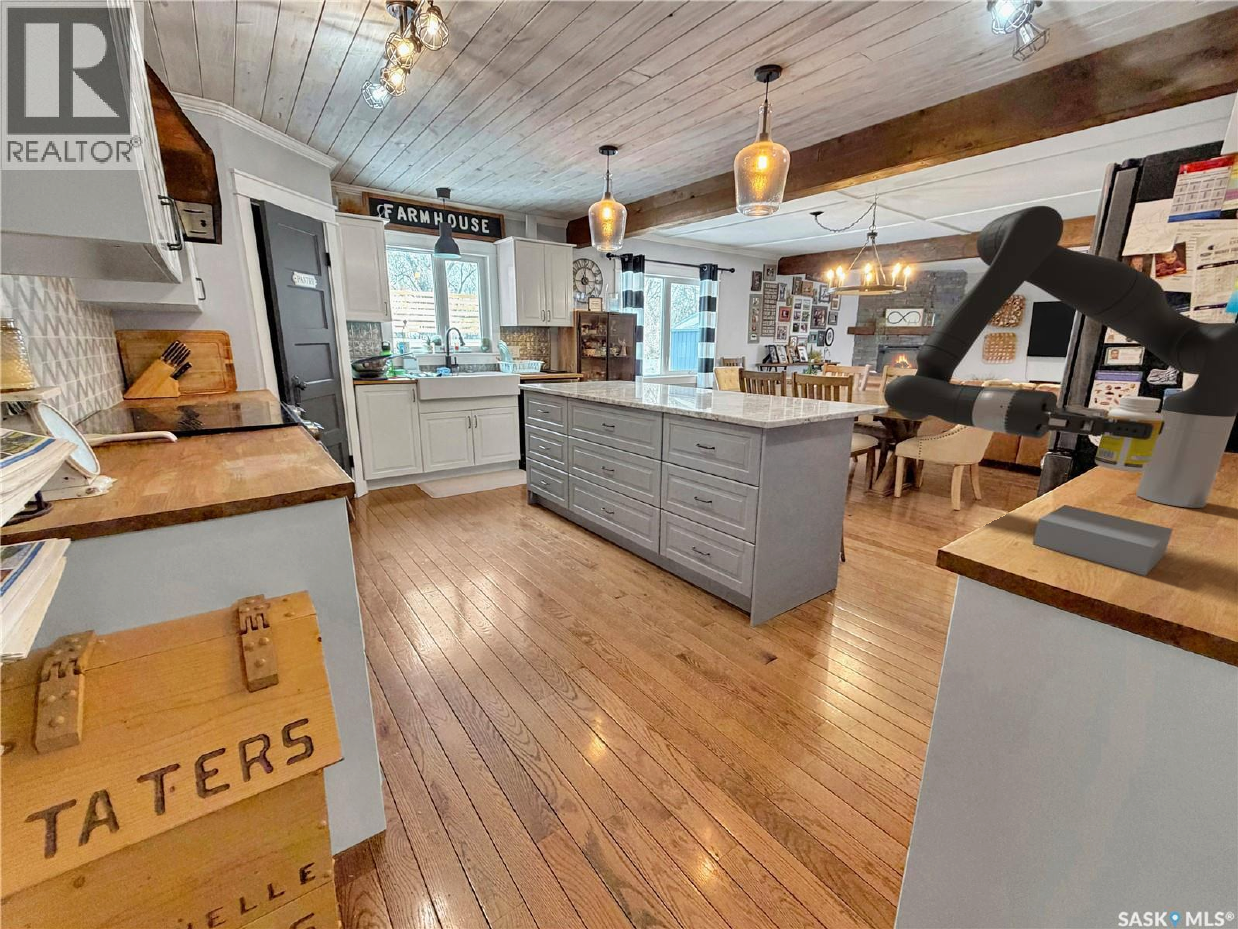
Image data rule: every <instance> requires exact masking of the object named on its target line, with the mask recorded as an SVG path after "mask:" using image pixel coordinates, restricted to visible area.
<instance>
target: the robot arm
mask: <svg viewBox="0 0 1238 929" xmlns="http://www.w3.org/2000/svg"><path fill="white" fill-rule="evenodd" d="M1063 233H1064V220H1063V217H1062V215H1061V214H1060V212H1059V211H1058V210H1057V209H1055V208H1053V207H1050V206H1048V205H1035V206H1030V207H1025V208H1023V209H1019V210H1016V211H1014V212H1010V213H1008V214H1004V215H1002V216H1000V217H998V218H996V219H994V220H992V221H990V222H989V223H987V224H986V225H985V226H984V227H983V228H982V229H981V231H980V232H979V234H978V236H977V239H976V250H977V254H978V256H979V259H981V261H982V262H983V263H984V264H985V265H986V266H988V268H987V270H986V271H985V272H984V274H983V275H982V276H981V277H980V278H979V280H978V281H977V282H976V283H975V284H974V285H973V287H972V288H970V290H969V291H968V292H967V293H966V294H964V296H963V297H962V298H961V299H960V300H959V301H958V302H957V303H955V305H953V306H952V307H951V308H950V309H949V310H948V311H947V312H946V313H945V315H944V316H943V317H942V318H941V319H939V322H937V324H936V325H935V327H934V328H933V330H932V331H931V332H930V334H929V335H928V337H927V338H926V340H925V342H924V343H923V344H922V346H921V347H920V349H919V351H918V352H917V355H916V359H915V360H916V363H917V370H916V372H915V374H912V375H911V374H908V375H906V374H905V375H901V376H899V377H896V378H894V379H892V380H891V381H890V382H889V383H888V384H887V385H886V386H885V389H884V394H883V395H884V400H885V402H886V404H887V406H888V407H889V408H890V409H891V410H893V411H894V412H896V413H897V414H899V415H900V416H902V417H903V418H905V419H906V420H907V419H908V420H910V421H920V420H923V419H925V418H927V417H929V416H931V417H936V418H938V419H940V420H942V421H944V422H947V423H950V424H954V425H959V426H966V427H967V426H968V427H973V428H977V429H978V428H979V429H982V430H986V431H990V432H994V433H1001V434H1006V435H1007V434H1008V435H1012V436H1019V437H1026V438H1029V439H1030V438H1031V439H1037V440H1038V439H1042V438H1043V437H1045V436H1046V435H1047V434H1048V432H1049V431H1051V432H1052V431H1053V432H1054V431H1057V432H1058V433H1064V434H1069V433H1070V434H1071V433H1072V434H1077V435H1081V436H1082V435H1083V436H1092V437H1095V438H1096V437H1101V436H1111V433H1112V435H1115V436H1122V437H1129V438H1136V439H1143V440H1146V439H1149V438H1150V437H1151V435H1152V432H1153V429H1154V425H1153V424H1151V423H1144V422H1136V421H1128V420H1120V419H1117V420H1116V419H1115V418H1113V417H1107V416H1108V413H1109V411H1110V410H1107V409H1104V408H1103V409H1102V408H1094V407H1093V408H1092V407H1085V406H1083V405H1077V404H1070V405H1064V406H1063V407H1061V408H1060V407H1058V405H1057V404H1058V397H1057V394H1056V393H1054V392H1053V391H1049V390H1038V389H1027V388H1017V387H1008V386H982V385H974V384H973V385H971V384H959V383H953V382H951V381H952V378H953V376H954V372H955V370H956V369H957V367H958V366H959V365H960V364H961V362H962V361H963V360H964V358H965V356H966V355H967V353H968V352H969V350H971V348H972V346H973V345H974V343H976V342H975V341H976V340H977V339H978V338H979V336H980V335H981V333H982V332H983V330H984V329H985V328H986V327H987V325H989V323H990V322H991V320H993V318H994V317H995V316H996V315H997V313H998V312H999V311H1000V310H1001V308H1003V306H1004V305H1005V304H1006V303H1007V302H1008V300H1010V298H1011V297H1012V296H1013V295H1014V294H1015V292H1017V291H1018V289H1019V288H1020V287H1021V286H1022V285H1023V284H1024V282H1026V283H1029V284H1030V285H1033V286H1035V287H1036V288H1038V289H1041V291H1044V292H1045V293H1047V294H1048V295H1050V296H1052V297H1053V298H1055V299H1056V300H1059V301H1060V302H1062V303H1064V304H1066V305H1067V306H1070V308H1073V309H1074V310H1076V311H1077V312H1079V313H1081V314H1082V315H1084V316H1086V317H1087V318H1090V319H1091V320H1093V321H1095V322H1096V323H1098V324H1101V325H1102V326H1105V327H1106V328H1109V329H1111V330H1113V331H1115V332H1116V333H1118V334H1120V335H1122V336H1124V337H1126V338H1128V339H1130V340H1132V341H1133V342H1136V343H1137V344H1139V345H1140V346H1142V347H1144V348H1145V349H1146V350H1148V351H1149V352H1151V353H1152V354H1153V355H1154V356H1155V357H1157V358H1158V359H1160V360H1161V361H1162V362H1163V363H1165V364H1166V365H1168V366H1169V367H1170V368H1172V369H1174V370H1175V371H1178V372H1181V373H1184V374H1190V375H1196V376H1197V377H1196V380H1195V381H1194V383H1193V385H1192V386H1191V387H1189V388H1187V389H1185V390H1183V391H1180V392H1175V393H1172V394H1168V395H1167V396H1166V397H1165V399H1164V401H1163V405H1162V407H1161V411H1160V414H1162V415H1163V421H1162V424H1161V427H1160V430H1159V434H1158V437H1157V440H1156V443H1155V446H1154V449H1153V452H1152V455H1151V458H1150V461H1149V465H1148V467H1147V469H1146V470H1145V471H1142V473H1141V477H1140V480H1139V483H1138V488H1137V490H1136V494H1135V495H1136V496H1137V497H1139V498H1141V499H1145V500H1148V501H1151V502H1154V503H1158V504H1163V505H1169V506H1174V507H1182V508H1183V507H1184V508H1191V509H1193V508H1194V509H1201V508H1205V507H1206V504H1207V502H1208V500H1209V499H1208V498H1209V497H1210V494H1211V491H1212V487H1213V485H1214V482H1215V478H1216V475H1217V473H1218V471H1219V467H1220V464H1221V461H1222V459H1223V455H1224V454H1225V450H1226V447H1227V444H1228V441H1229V438H1230V435H1231V431H1232V428H1233V426H1234V422H1235V420H1236V418H1237V417H1236V416H1237V414H1238V322H1216V323H1215V322H1213V323H1211V322H1202V321H1199V320H1196V319H1193V318H1190V317H1188V316H1187V315H1184V314H1182V313H1180V312H1179V311H1176V310H1175V309H1173V308H1172V307H1171V306H1170V305H1169V304H1168V300H1167V296H1166V294H1165V291H1164V289H1163V287H1162V285H1161V284H1160V283H1159V282H1158V281H1156V280H1155V279H1154V278H1152V277H1150V276H1149V275H1147V274H1146V273H1145V272H1142V271H1140V270H1138V269H1136V268H1135V267H1133V266H1131V265H1129V264H1127V263H1125V262H1122V261H1118V260H1115V259H1112V258H1108V257H1104V256H1100V255H1095V254H1090V253H1086V252H1082V251H1077V250H1073V249H1069V248H1066V247H1064V246H1062V245H1060V244H1059V243H1060V241H1061V238H1062V236H1063ZM1115 420H1116V422H1115Z"/></svg>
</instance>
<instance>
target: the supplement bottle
mask: <svg viewBox="0 0 1238 929" xmlns="http://www.w3.org/2000/svg"><path fill="white" fill-rule="evenodd" d="M1160 405H1161V399H1160V398H1155V397H1148V396H1147V397H1145V396H1139V395H1138V396H1136V395H1122V396H1121V397H1120V399H1119V402H1118V405H1117V407H1118V408H1113V409H1110V410H1108V411H1109V413H1108V416H1107V417H1113V418H1115V419H1116V420H1117V419H1120V420H1128V421H1136V422H1144V423H1151V424H1153V425H1154V429H1153V432H1152V435H1151V437H1150V438H1149V439H1146V440H1143V439H1136V438H1129V437H1122V436H1115V435H1112V433H1111V436H1102V435H1101V436H1100V440H1099V444H1098V447H1097V451H1096V455H1095V459H1094V462H1095V464H1096V465H1097V466H1099V467H1103V468H1106V469H1110V470H1115V471H1121V472H1122V471H1123V472H1132V473H1140V472H1143V471H1145V470H1146V469H1147V467H1148V465H1149V461H1150V458H1151V455H1152V452H1153V449H1154V446H1155V443H1156V440H1157V437H1158V434H1159V430H1160V427H1161V424H1162V421H1163V415H1162V414H1161V412H1156V411H1158V410H1159V408H1160ZM1116 420H1115V422H1116Z"/></svg>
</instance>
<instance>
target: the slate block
mask: <svg viewBox="0 0 1238 929" xmlns="http://www.w3.org/2000/svg"><path fill="white" fill-rule="evenodd" d="M1173 530H1174V529H1173V528H1169V527H1165V526H1161V525H1156V524H1153V523H1147V522H1144V521H1139V520H1134V519H1130V518H1125V517H1121V516H1117V515H1111V514H1108V513H1104V512H1103V513H1102V512H1099V511H1093V510H1090V509H1085V508H1080V507H1076V506H1073V505H1072V506H1071V505H1067V504H1065V505H1062V506H1060V507H1059V508H1057V509H1054V510H1053V511H1051V512H1049V513H1047V514H1045V515H1044V516H1042V517H1040V518H1039V519H1038V522H1037V526H1036V528H1035V534H1034V538H1033V541H1032V545H1034V544H1035V546H1039V547H1042V548H1045V549H1048V550H1049V549H1050V550H1052V551H1056V552H1060V553H1063V554H1066V555H1071V556H1073V557H1076V558H1081V559H1084V560H1088V561H1091V562H1095V563H1098V564H1101V565H1104V566H1105V565H1106V566H1108V567H1112V568H1116V569H1118V570H1123V571H1126V572H1130V573H1134V574H1137V575H1140V576H1142V577H1143V576H1144V577H1146V575H1147V574H1149V572H1150V571H1151V570H1152V569H1153V568H1154V567H1155V566H1156V565H1157V564H1158V563H1159V561H1160V560H1161V559H1162V558H1163V557H1164V556H1165V554H1166V552H1167V549H1168V545H1169V543H1170V539H1171V536H1172V533H1173Z"/></svg>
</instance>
